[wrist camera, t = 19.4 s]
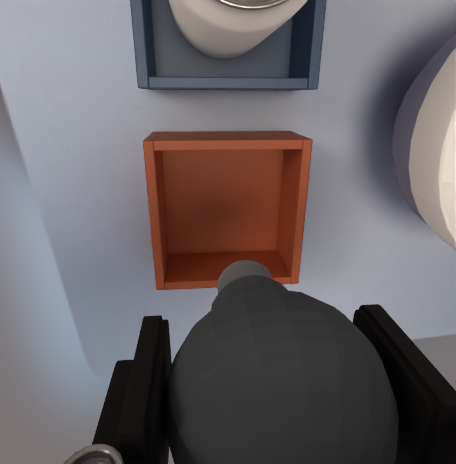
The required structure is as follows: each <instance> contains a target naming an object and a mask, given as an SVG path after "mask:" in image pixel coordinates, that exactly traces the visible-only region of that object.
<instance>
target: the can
mask: <svg viewBox="0 0 456 464" xmlns="http://www.w3.org/2000/svg"><path fill="white" fill-rule="evenodd" d="M307 1H308V0H169V3H170V7H171V10H172V13H173V16H174V19H175V22H176V24H177V27H178V29H179V31H180V32H181V34H182V35H183V37H184V38H185V39H186V40H187V42H188V43H189V44H190V45H191V46H192V47H194V48H195V49H196V50H198V51H199V52H201V53H203V54H205V55H207V56H210V57H214V58H221V59H226V58H233V57H237V56H240V55H242V54H244V53H246V52H248V51H249V50H251V49H252V48H253V47H255V46H256V45H257V44H259V43H260V42H261V41H263V40H264V39H265V38H266V37H268V36H269V35H270V34H271V33H273V32H274V31H275V30H276V29H278V28H279V27H280V26H281V25H283V24H284V23H285V22H286V21H287V20H289V19H290V18H291V17H292V16H293V15H294V14H295V13H296V12H297V11H298V10H300V8H301V7H302V6H303V5H304V4H305V3H306V2H307Z"/></svg>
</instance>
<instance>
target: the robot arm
mask: <svg viewBox="0 0 456 464" xmlns="http://www.w3.org/2000/svg"><path fill="white" fill-rule="evenodd" d="M353 324H354V325H355V326H356V327H357V328H358V329H359V330H360V331H361V332H362V333H363V334H364V335H365V336H366V338H367V339H368V340H369V341H370V342H371V343H372V344H373V346H374V348H375V349H376V351H377V353H378V355H379V356H380V358H381V360H382V363H383V366H384V368H385V371H386V374H387V376H388V379H389V382H390V385H391V387H392V390H393V393H394V396H395V399H396V404H397V410H398V416H399V426H398V443H397V452H396V460H395V464H456V391H455V390H454V388H453V387H452V386H451V385H450V384H449V383H448V382H447V380H446V379H445V378H444V377H443V376H442V375H441V374H440V372H439V371H438V370H437V369H436V368H435V367H434V366H433V364H432V363H431V362H430V361H429V360H428V359H427V358H426V357H425V355H424V354H423V353H422V352H421V351H420V350H419V349H418V347H417V346H416V345H415V344H414V343H413V342H412V341H411V340H410V338H409V337H408V336H407V335H406V334H405V333H404V332H403V330H402V329H401V328H400V327H399V326H398V325H397V324H396V323H395V321H394V320H393V319H392V318H391V317H390V316H389V315H388V313H387V312H386V311H385V310H384V309H383V308H382V307H381V306H380V305H378V304H375V305H362V306H360V308H359V310H356V311H355V313H354V318H353ZM171 366H172V362H171V349H170V336H169V323H168V320H162V316H161V315H160V316H144V318H143V322H142V326H141V330H140V335H139V339H138V344H137V348H136V352H135V357H134V360H121V361H117V363H116V365H115V368H114V371H113V375H112V378H111V381H110V385H109V388H108V392H107V396H106V398H105V402H104V406H103V409H102V412H101V415H100V419H99V422H98V426H97V429H96V433H95V436H94V440H93V443H92V445H91V446H87V447H84V448H83V449H81V450H79V451H77V452H76V453H74V454H73V455H72V456H71V457H70V458H68V460H66V461H65V463H64V464H168V455H169V443H168V440H167V435H166V429H165V423H164V418H165V400H166V393H167V387H168V381H169V375H170V370H171Z"/></svg>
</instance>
